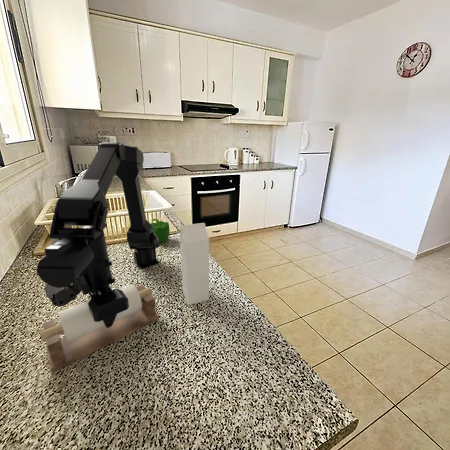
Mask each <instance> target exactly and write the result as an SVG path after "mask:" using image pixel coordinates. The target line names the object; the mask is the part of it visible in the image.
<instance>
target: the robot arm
mask: <svg viewBox="0 0 450 450" xmlns="http://www.w3.org/2000/svg"><path fill="white" fill-rule="evenodd" d="M144 157H145V156H144V153H143V151H142V150H141V149H139V147H138V146H129V145H125V144H124V143H120V142H119V141H118V142H117V141H116V142H115V141H113V142H112V141H102V142H101V143H100V142H99V143H98V144H97V152H96V153H95V155H94V157H93V158H92V161H91V162H90V163H89V165H88V167H87V169H86V171H85V173H84V174H83V177H82V178H81V179H80V181H79V182H77V183H75V184H73V185H72V186H71V185H70V187H68V188H66V190H65V191H64V192H63V193H62V194H61V195H60V196H59V198H58V199H57V201H56V204H55V206H54V211H53V216H52V221H51V224H52V225H51V224H50V230H49V235H48V238H49V239H51V240H52V239H59V241H58V242H56V243H55V244H53V245H51V244H50V245H49V246H47V247H46V248H44V254H45V256H44V257H42V258H40V260H39V261H38V263H37V268H36V270H35V271H36V273H37V275H38V277H39V278H40V280H41V281H42V282H44V283H45V286H44V287H43V288H44V292H45V296H46V297H47V298H48V299H49V300H50V301H51V304H52V306H56V307H57V308H60V307H65V306H67V305H68V304H70V303H71V302H72V301H74V300H76V298H77V296H78V295H80V294H81V292H82V295H83V296H85V295H89V297H90V300H88V301H89V303H88V307H89V308H88V309H89V311H90V313H91V315H92V317H93V320H94V322H100V321H102V320H103V322H104V324H105V326H106V328H109V327H111V326H112V325H113V323H114V320H115V318H116V316H117V314H118V313H120V312H122V311H125V310H127V309H128V308H129V302H128V298H127V297H126V295H125V294H124V293H123V291H122V290H119V289H120V288H114V289H112V287H111V286H110V285H113V284H115V283H116V280H115V277H114V275H113V274H112V269H111V267H112V266H113V262H112V261H113V260H111V259H110V258H109V253H108V248H107V241H106V237H105V231H104V230H105V229H106V228H107V227H108V225H107V223H106V220H107V218H108V217H107V216H108V215H109V214H108V213H109V205H110V204H109V202H108V200H107V197H106V196H107V193H108V191H109V188H110V186H111V184H112V182H113V180H114V177H115V176H116V177H117V178H118V179H119V180H120V181H121V186H122V190H123V195H124V199H125V204H126V208H127V212H128V213H127V214H128V217H129V218H128V219H129V223H130V226H129V228H128V230H127V232H126V242H127V244H128V248H129V250H134V251H133V253H132V254H133V263H134V264H135V265H136V266H137V267H138V268H139V269H141V270H142V269H145V268H149V267H151V266H154V265H157V264H159V263H160V261H159V260H158V259H157V249H158V248H160V243H159V238H158V237H157V235H156V234H155V233H154V230H153V226H152V225H151V222H150V221H148V220H147V217H146V211H145V206H144V201H143V200H144V199H143V193H142V187H141V183H140V182H141V181H140V175H141V173H142V170H143V169H144V165H143V164H144V161H145V159H144ZM65 225H67V226H72V228H64V226H65ZM73 226H74V227H73ZM79 227H81V228H79Z"/></svg>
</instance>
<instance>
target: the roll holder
mask: <svg viewBox="0 0 450 450" xmlns="http://www.w3.org/2000/svg"><path fill="white" fill-rule="evenodd" d="M135 287H136V288H137V290H138V292H139V291H141V290H144V289H146V287H145V286H144V284H140V285H138V286H135ZM141 302H142V309H141V310H139V311H137V312H135V313H133V314H131V315H129V316H126V317H124V318H122V319H120V320H118V321H115V322H114V323H113V325H112V326H111V327H109V328H106V326H104V327H102V328H100V329H98V330H96V331H94V332H91V333H89V334H87V335H85V336H83V337H80V338H78V339H76V340H74V341H72V342H70V343H67V341H66V337H65V336H63V337H60V335H58V334H56V335H54V336H52V337H49V338H47V339H45V340H46V341H45V343H46V346H45V347H46V352H47V356H48V362H49V366H50V367H49V368H50V371H51V374H52V373H54V372H56V371H59V370H60V369H62V368H64V367H66V366H68V365H70V364H73V363H74V362H76V361H78V360H80V359H82V358H84V357H86V356H88V355H90V354H92V353H94V352H96V351H98V350H100V349H102V348H104V347H106V346H108V345H110V344H112V343H114V342H117V341H119V340H120V339H122V338H124V337H126V336H128V335H130V334H132V333H134V332H136V331H137V330H140V329H142V328H144V327H146V326H148V325H150V324H152V323H153V322H155V321H158V320H159V319H160V317H159V315H158V313H157V312H156V298H155V296H153V294H152V295H151V294H150V295H148V296H146V297H143V299H141ZM41 325H42V328H43V330H45V329H48V328H50V327H53V326H55V325H57V323H56V321H55V319H54V318H53V319H50V320H48V321H46V322H44V323H41ZM43 330H42V331H43Z"/></svg>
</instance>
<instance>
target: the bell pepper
mask: <svg viewBox="0 0 450 450" xmlns="http://www.w3.org/2000/svg"><path fill="white" fill-rule="evenodd" d="M151 220H152V222H150V224H151V225H152V226H153V230H154V233H155V234H156V235H157V237H158V238H159V244H164V243H166V242H168V240H169V237H170V232H171V231H170V223H169V222H168V221H163V220H159V219H157V218H155V217H154V218H152V219H151ZM155 221H156V222H155Z"/></svg>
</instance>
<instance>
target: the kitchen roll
mask: <svg viewBox="0 0 450 450" xmlns="http://www.w3.org/2000/svg"><path fill="white" fill-rule="evenodd" d="M136 287H137V286H135V284H133V283H131V284H129V285H127V286H123V287H121V288H118V289H119V290H122V291H123V293H124V294H125V295H126V297H127V298H128V302H129V308H128V309H127V310H125V311H122V312H120V313H118V314H117V316H116V318H115V320H114V322H115V321H118V320H120V319H122V318H124V317H126V316H129V315H131V314H133V313H135V312H137V311H139V310H141V309H142V302H141V299H143V297H146V296H148V295H150V294H151V295H152V296H153V291H152V289H151V287H147V288H146V287H145V288H146V289H144V290H141V291H139V292H138V290H137V288H136ZM89 301H90V300H87V301H84V302H82V303H80V304H77V305H74V306H71V307H69V308H66V309H63V310H61V311H58V316H59V317H58V318H59V321H60V323H58V324H56V325H55V326H53V327H50V328H48V329H45V330H41V331H39V334H40V338H41V342H42V343H43V342H46V340H45V339H47V338H49V337H52V336H54V335H56V334H58V335H59V336H60V335H62V334H64V337H66V341H67V343H70V342H72V341H74V340H76V339H78V338H80V337H83V336H85V335H87V334H89V333H91V332H94V331H96V330H98V329H100V328H102V327H104V326H105V324H104V322H103V320H102V321H100V322H94V320H93V317H92V315H91V313H90V311H89V309H88V308H89V307H88V303H89Z"/></svg>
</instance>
